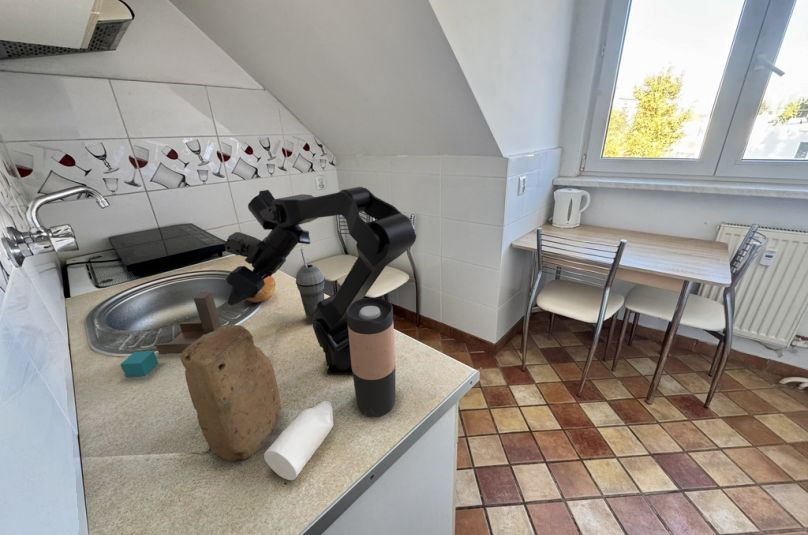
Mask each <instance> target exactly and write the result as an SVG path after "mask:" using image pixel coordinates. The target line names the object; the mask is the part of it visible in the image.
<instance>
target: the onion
mask: <svg viewBox="0 0 808 535" xmlns="http://www.w3.org/2000/svg"><path fill="white" fill-rule="evenodd" d="M253 269H254V268H253ZM253 269H252V268H251V269H250V270H251V271H253ZM264 283H265V285H264V286H263V288H262V289H261V290H260V291H259V292H258V294H257V295H256V296H255V297H254V298H248V299H246V300H247V301H248V302H250V303H260V302H264V301H268V300H269V299H271V298H272V297H273V296H274V294H275V291H276V280H275V278H274V276H273V274H272V275H271V276H270V277H267V278H265V279H264Z"/></svg>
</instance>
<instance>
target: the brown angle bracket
mask: <svg viewBox="0 0 808 535" xmlns="http://www.w3.org/2000/svg"><path fill="white" fill-rule="evenodd" d="M193 301H194V305H195V308H196V311H197V315H198V317H199V321H188V322H185V321H184V322H183V321H182V322H179V324H178V326H179V328H180V331H181V332H180V333H179V334H178V335H177V336H176V337H175V338H174V339H173V340H171V342H162V343H156V344H155V347H156V349H157V352H158V354H159V355H168V354H182V352H183V351H184V350H185V349H186V348H187V347H188V346H189V345H191V344H192V343H193V342H195V341H196V340H198V339H199V338H201V337H202V336H204V335H206V334H208V333H210V332H213V331H214V330H215V329H217V328H219V327H221V326H222V324H221V323H222V322H221V320H220V318H219V317H220V316H219V313H218V309H217V306H216V302H215V299H214V296H213V293H212V291H200V292H199V293H198V294H197V295H195V296H194V297H193Z"/></svg>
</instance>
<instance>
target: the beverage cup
mask: <svg viewBox="0 0 808 535" xmlns="http://www.w3.org/2000/svg"><path fill="white" fill-rule="evenodd" d="M300 252H301V256H302V260H303V264H304V265H303V266H302V267H300V268H299V269H298V271H297V272H296V276H295V284H296V288H297V289H298V292H299V295H300V299H301V302H302V306H303V311H304V315H305V318H306V321H307V322H308V324H312V325H313V316H314V315H315V314H313V311H315V310H316V307H317V304H318V303H319V302H320V301H322V300H324V299H325V281H326V277H325V275H324V273H323V270H322V269H321V268H319V267H318V266H317V265H316V264H315V265H314V264H307V261H306V256H305V252H304V249H303V248H300Z"/></svg>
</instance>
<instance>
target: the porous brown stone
mask: <svg viewBox="0 0 808 535" xmlns="http://www.w3.org/2000/svg"><path fill="white" fill-rule="evenodd" d="M180 361H181V364H182V366H183V367H184V369H185V371H184V376H185V380H186V381H185V382H186V385H187V389H188V392H189V396H190V399H191V403H192V405H193V408H194V410H195V412H196V417H197V422H198V425H199V428H200V430H201V433H202V435H203V437H204V440H205V441H206V444H207V445H208V447H209V448H210V449H211V451H213V452H214V453H215V454H216V455H217V456H219V457H221V458H222V459H224V460H227V461H229V462H235V461H236V460H246V459H248V458H250V457H251V456H253V455H255V453H257V452H258V451H259V450H260V449H261V448H262V447H263V446H264V445H265V444H266V443H267V441H268V440H269V438H270V436H271V434H272V432H273V431H274V429H275V427H276V425H277V423H278V420H279V417H280V416H279V415H280V410H282V404H281V395H280V391H279V385H278V381H277V377H276V372H275V368H274V366H273V363H272V361H271V359H270V357H268V356H267V354H265V353H264V352H263V350H262V348H260V347H259V346H256V345H255V342H254V336H253V334H252V333H251V332H250V330H249V329H247V328H246V327H245V326H243V325H241V324H225V325H224V324H223V325H221V327H219V328H217V329H215V330H214V331H213V332H210V333H208V334H206V335H204V336H202V337H201V338H199V339H198V340H196V341H195V342H193V343H192V344H191V345H189V346H188V347H187V348H186V349H185V350H184V351H183V352H182V353H180Z"/></svg>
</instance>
